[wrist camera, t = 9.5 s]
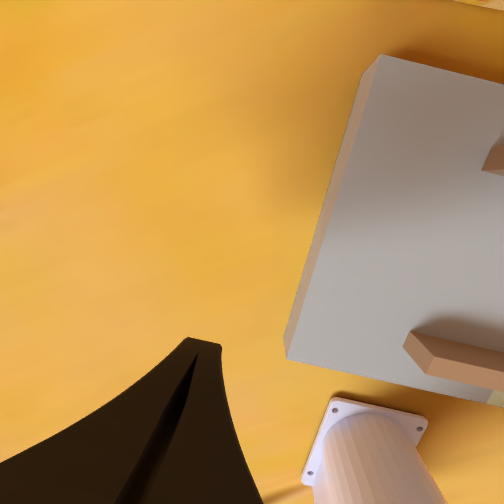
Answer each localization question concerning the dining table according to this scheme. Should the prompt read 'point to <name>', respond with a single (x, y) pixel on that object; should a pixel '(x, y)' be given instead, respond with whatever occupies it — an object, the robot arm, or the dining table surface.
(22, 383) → the dining table surface
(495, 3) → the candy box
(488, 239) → the tunnel deck
